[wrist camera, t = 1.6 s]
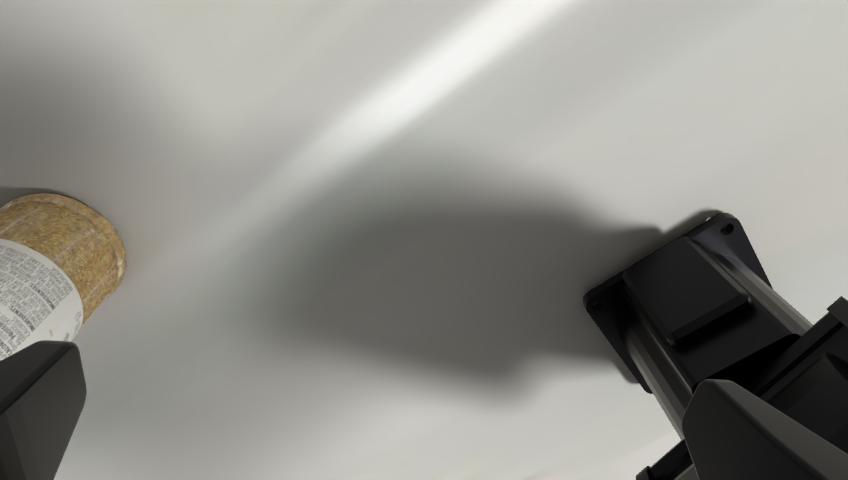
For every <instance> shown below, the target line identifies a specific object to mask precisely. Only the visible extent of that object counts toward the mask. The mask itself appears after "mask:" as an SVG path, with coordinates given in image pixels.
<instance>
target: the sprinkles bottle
mask: <svg viewBox="0 0 848 480" xmlns="http://www.w3.org/2000/svg"><path fill="white" fill-rule="evenodd" d="M125 268H126V260H125V250H124V247H123V244H122V242H121V240H120V238H119V236H118V235H117V233H116V231H115V230H114V229H113V228H112V226H111V224H110V223H109V222H108V221H107V220H106V219H105V218H104V217H103V216H101V215H100V214H98V213H97V212H95V211H94V210H92V209H91V208H90V207H88V206H87V205H85V204H83V203H80V202H79V201H77V200H75V199H72V198H69V197H64V196H62V195H59V194H48V193H39V194H31V195H25V196H22V197H19V198H16V199H14V200H12V201H10V202H8V203H6V204H5V205H4V206H3V207H2V208H0V361H1V360H3V359H5V358H7V357H9V356H10V355H12V354H14V353H16V352H18V351H20V350H22V349H24V348H26V347H27V346H29V345H31V344H33V343H35V342H38V341H41V340H53V341H69V342H72V341H73V339H74V338H75V337H76V335H77V334H78V332H79V330H80V328H81V325H82V324H83V323H84V322H85V321H86V319H87V318H88V317H89V316H90V315H91V313H92V312H93V311H94V309H95V308H96V307H97V306H98V305H99V304H100V303H101V301H102V300H103V299H105V298H107V297H108V296H109V295H110V294H111V293H112V292H113V291H114V290H115V289H116V288H117V286H118V285H119V284H120V282H121V280H122V277H123V275H124V272H125Z"/></svg>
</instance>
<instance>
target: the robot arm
mask: <svg viewBox="0 0 848 480" xmlns="http://www.w3.org/2000/svg"><path fill="white" fill-rule="evenodd" d="M727 223H728V225H727V227H726V228H725V229H723V230H721V228H722V226H724V225H725V224H727ZM720 230H721V231H720ZM596 300H600V302H599V303H598V304H595V305H593V302H595V301H596ZM583 304H584V307H585V308H586V310H587V312H588V313H589V315H590V316H591V317H592V319H593V320H594V321H595V323H596V324H597V326H598V327H599V328H600V330H601V331H602V332H603V334H604V335H605V337H606V338H607V339H608V341H609V342H610V343H611V345H612V346H613V348H614V349H615V350H616V352H617V353H618V354H619V356H620V357H621V359H622V360H623V361H624V363H625V364H626V365H627V367H628V368H629V370H630V371H631V372H632V374H633V375H634V376H635V378H636V379H637V380H638V382H639V383H640V385H641V386H642V387H643V389H644V390H645V391H646V392H647V393H650V394H654V396H655V397H656V399H657V401H658V402H659V404H660V405H661V407H662V409H663V410H664V412H665V414H666V415H667V417H668V419H669V420H670V422H671V424H672V425H673V427H674V429H675V430H676V432H677V434H678V435H679V437H680V439H681V441H680V442H679V443H678V444H677V445H675V446H674V447H673V448H672V449H671V450H670V451H669V452H667V453H666V454H665V455H664V456H663V457H662V458H661V459H659V460H658V461H657V462H656V463H655V464H654V465H653V466H651V467H649V466H647V467H646V468H644V469H643V470H642V471H641V472H640V473H639V474H638V475H636V480H848V300H846V299H845V298H843V297H842V296H841V297H840V298H839V299H837V300H836V301H835V302H834V303H833V304H832V305H831V306H829V307H828V308H827V310H828V311H829V312H828V313H827V314H826V315H825V316H824V317H822V318H821V319H820V320H819V321H818V322H817V323H816V324H814V325H813V324H811V323H810V322H809V321H808V320H807V319H806V318H805V317H804V316H802V315H801V314H800V313H799V312H798V311H797V310H796V309H794V308H793V307H792V306H791V305H790V304H789V303H788V302H786V301H785V300H784V299H783V298H782V297H781V296H780V295H778V294H777V293H776V292H775V291H774V290H773V288H772V286H771V284H770V282H769V280H768V278H767V276H766V274H765V272H764V270H763V268H762V266H761V264H760V262H759V260H758V258H757V256H756V254H755V252H754V250H753V248H752V246H751V244H750V242H749V240H748V237H747V235H746V233H745V231H744V229H743V227H742V225H741V223H740V222H739V220H738V219H737V218H735V217H734V216H733V215H731V214H729V213H721V214H718V215H716V216H714V217H713V218H711V219H709V220H708V221H706V222H704V223H703V224H701V225H699V226H698V227H696V228H694V229H693V230H691V231H689V232H688V233H686V234H684V235H683V236H681V237H679V238H678V239H676V240H674V241H673V242H671V243H669V244H668V245H666V246H664V247H663V248H661V249H659V250H658V251H656V252H654V253H652V254H651V255H649V256H647V257H646V258H644V259H642V260H641V261H639V262H637V263H636V264H634V265H632V266H631V267H629V268H627V269H626V270H624V271H622V272H621V273H619V274H617V275H616V276H614V277H612V278H611V279H609V280H607V281H606V282H604V283H602V284H601V285H599V286H597V287H596V288H594V289H592V290H590V291H589V292H588V293H587V294H585V296H584V298H583ZM85 400H86V383H85V378H84V373H83V368H82V363H81V358H80V353H79V350H78V347H77V346H76V344H74V343H72V342H69V341H53V340H41V341H38V342H35V343H33V344H31V345H29V346H27V347H26V348H24V349H22V350H20V351H18V352H16V353H14V354H12V355H10V356H9V357H7V358H5V359H3V360H1V361H0V480H54V477H55V475H56V472H57V470H58V467H59V465H60V463H61V460H62V458H63V455H64V453H65V450H66V448H67V446H68V443H69V441H70V438H71V436H72V433H73V431H74V429H75V426H76V424H77V421H78V419H79V416H80V414H81V412H82V409H83V407H84V404H85Z"/></svg>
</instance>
